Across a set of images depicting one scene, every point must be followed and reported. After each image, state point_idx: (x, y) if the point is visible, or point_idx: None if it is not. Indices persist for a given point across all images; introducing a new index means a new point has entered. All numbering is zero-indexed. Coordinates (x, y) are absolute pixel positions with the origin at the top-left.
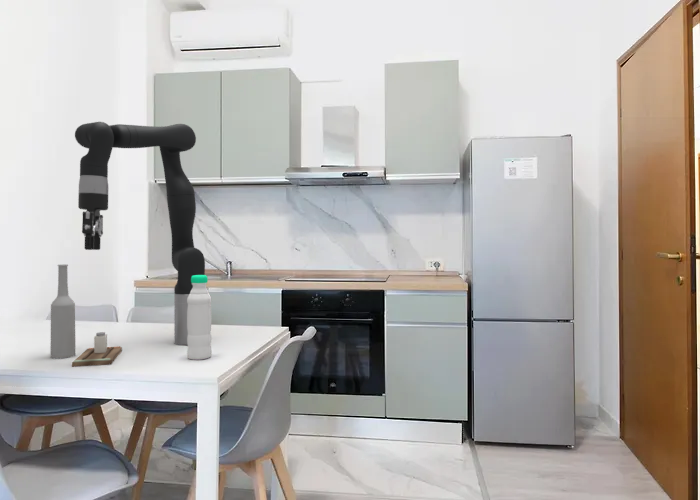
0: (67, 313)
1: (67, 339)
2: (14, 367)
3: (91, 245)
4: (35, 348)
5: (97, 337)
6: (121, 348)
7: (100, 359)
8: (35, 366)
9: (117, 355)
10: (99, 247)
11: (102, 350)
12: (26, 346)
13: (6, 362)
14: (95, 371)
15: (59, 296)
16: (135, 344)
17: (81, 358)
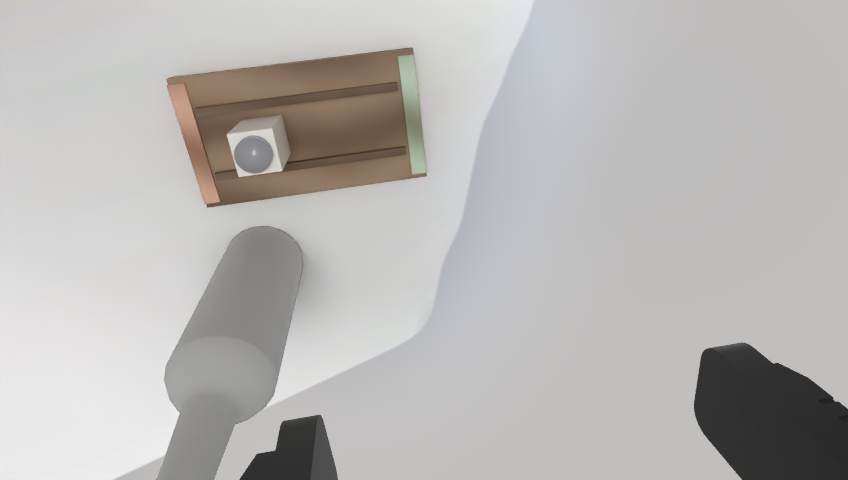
0: (264, 324)
1: (282, 266)
2: (405, 323)
3: (800, 383)
4: (143, 389)
5: (279, 157)
6: (180, 77)
7: (413, 88)
8: (402, 277)
9: (280, 64)
10: (316, 433)
11: (283, 126)
12: (113, 427)
13: (341, 370)
14: (502, 71)
15: (238, 415)
16: (18, 54)
17: (370, 167)
